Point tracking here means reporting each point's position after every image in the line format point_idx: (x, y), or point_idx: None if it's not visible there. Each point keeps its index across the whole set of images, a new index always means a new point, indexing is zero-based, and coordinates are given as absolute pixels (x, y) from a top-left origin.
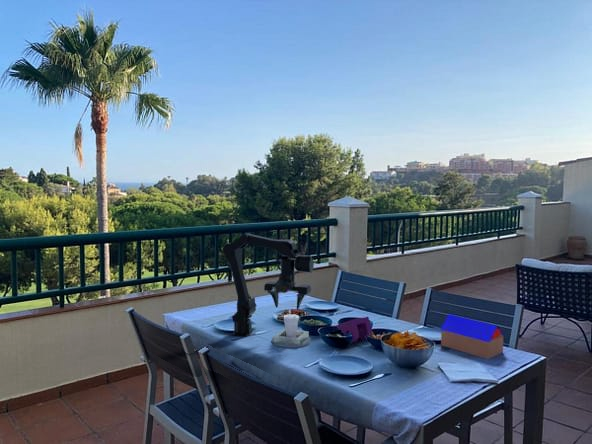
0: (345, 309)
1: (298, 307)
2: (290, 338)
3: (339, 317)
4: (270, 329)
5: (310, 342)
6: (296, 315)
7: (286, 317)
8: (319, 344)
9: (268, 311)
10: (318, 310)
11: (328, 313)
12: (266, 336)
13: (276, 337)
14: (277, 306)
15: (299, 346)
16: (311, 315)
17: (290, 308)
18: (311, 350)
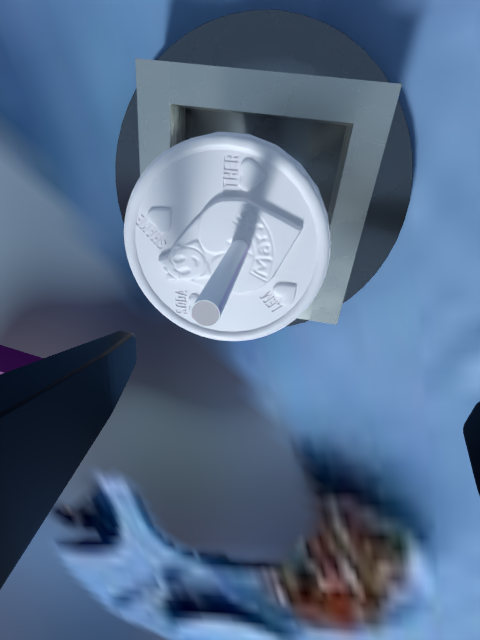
0: (140, 612)
1: (89, 349)
2: (227, 69)
3: (129, 550)
4: (436, 400)
5: (118, 187)
6: (175, 308)
7: (277, 191)
8: (61, 177)
9: (460, 617)
10: (234, 611)
11: (186, 585)
12: (460, 267)
13: (372, 82)
14: (471, 428)
15: (159, 60)
16: (247, 571)
17: (204, 287)
18: (55, 13)
